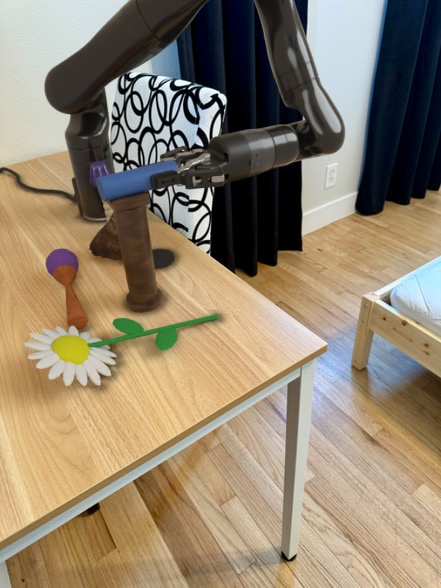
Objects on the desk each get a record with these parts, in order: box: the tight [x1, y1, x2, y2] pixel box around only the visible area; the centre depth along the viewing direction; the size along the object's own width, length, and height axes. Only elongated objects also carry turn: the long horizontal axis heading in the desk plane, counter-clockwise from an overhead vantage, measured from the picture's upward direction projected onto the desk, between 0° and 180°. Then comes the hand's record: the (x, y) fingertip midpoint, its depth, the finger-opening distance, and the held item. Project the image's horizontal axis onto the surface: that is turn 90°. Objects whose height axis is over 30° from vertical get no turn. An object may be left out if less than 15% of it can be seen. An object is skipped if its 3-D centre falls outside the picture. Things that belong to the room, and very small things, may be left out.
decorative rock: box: [88, 213, 123, 262], centre depth 86 cm, size 12×6×11 cm, turn 77°
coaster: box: [152, 248, 176, 270], centre depth 88 cm, size 7×7×1 cm
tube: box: [96, 160, 178, 202], centre depth 65 cm, size 12×4×4 cm, turn 121°
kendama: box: [45, 247, 89, 331], centre depth 77 cm, size 6×6×20 cm
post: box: [107, 191, 164, 313], centre depth 71 cm, size 6×6×21 cm
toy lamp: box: [90, 161, 113, 223], centre depth 91 cm, size 5×5×17 cm
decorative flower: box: [23, 313, 220, 387], centre depth 67 cm, size 13×5×30 cm
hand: (146, 178), depth 65 cm, fingers closed on tube, 3 cm apart
